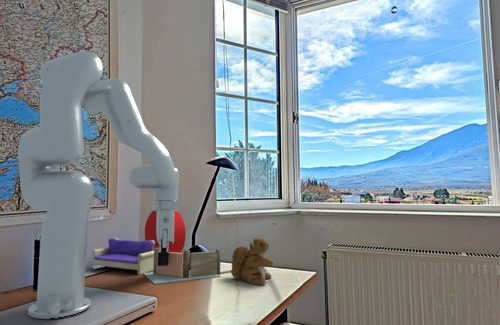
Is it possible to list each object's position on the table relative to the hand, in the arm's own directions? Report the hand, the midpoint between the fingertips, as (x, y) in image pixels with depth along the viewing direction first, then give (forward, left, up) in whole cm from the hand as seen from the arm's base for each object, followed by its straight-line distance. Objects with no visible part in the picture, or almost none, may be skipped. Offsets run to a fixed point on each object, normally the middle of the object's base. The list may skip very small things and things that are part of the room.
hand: (162, 265), depth 110 cm
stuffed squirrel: (-13, -24, -4) cm, 28 cm away
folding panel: (+2, -2, -4) cm, 5 cm away
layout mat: (+1, -7, -4) cm, 8 cm away
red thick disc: (+29, -9, -4) cm, 31 cm away
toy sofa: (+17, +9, -5) cm, 20 cm away
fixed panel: (-3, -12, -4) cm, 13 cm away
